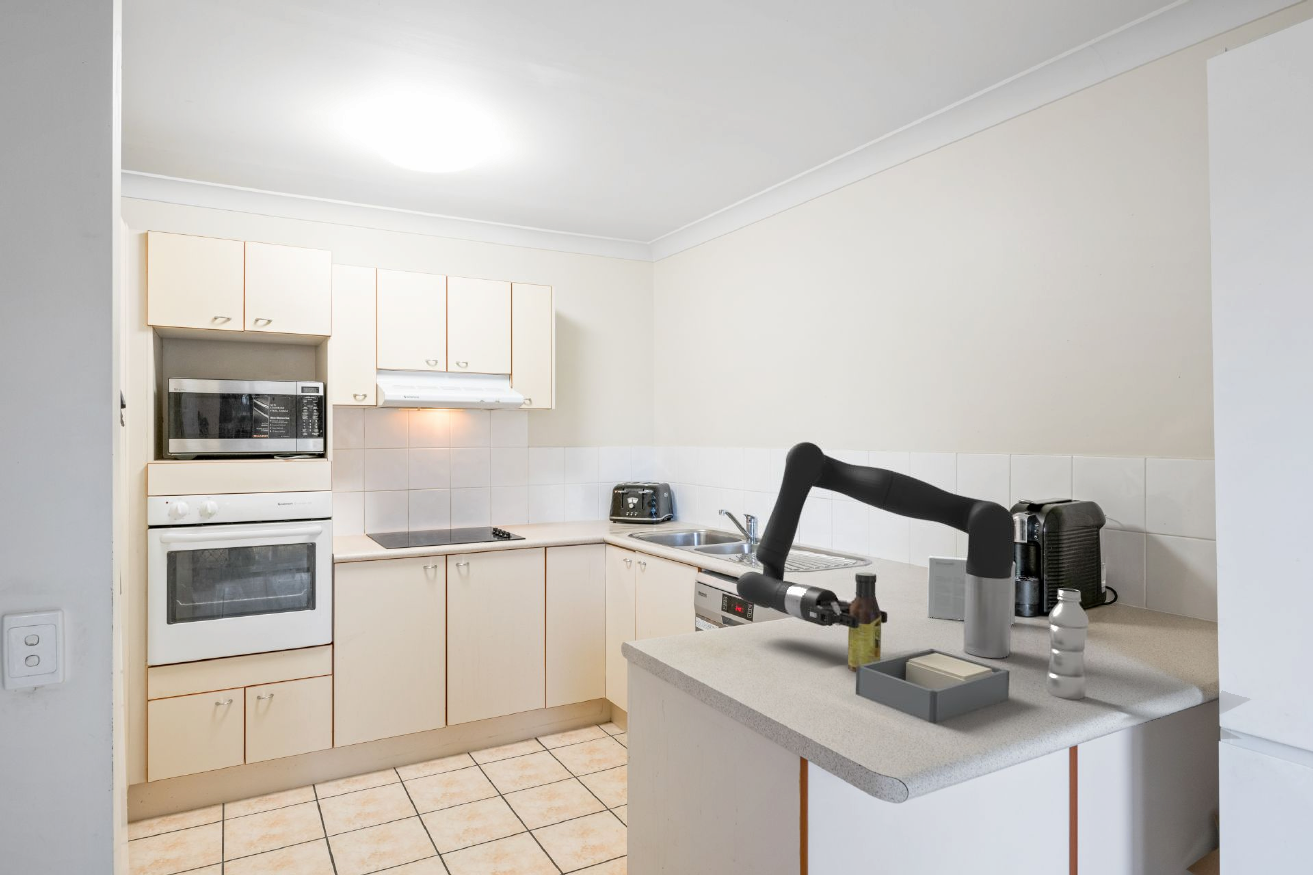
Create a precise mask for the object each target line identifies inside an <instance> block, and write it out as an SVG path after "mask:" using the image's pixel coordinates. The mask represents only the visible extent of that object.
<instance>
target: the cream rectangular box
mask: <svg viewBox="0 0 1313 875" xmlns="http://www.w3.org/2000/svg"><path fill="white" fill-rule="evenodd" d="M992 673H994V672H992V669H990V668H986V667H983V666H979V665H976V664H973V663H969V662H966V661H962V660H959V659H955V658H952V657H949V656H945V655H942V654H938V653H934V654H930V655H926V656H921V657H917V658H913V659H909V662H906V681H907V682H910V683H913V684H916V685H919V686H922V687H925V688H928V689H931V690H935V689H939V688H943V687H946V686H950V685H953V684H957V683H960V682H964V681H967V680H971V679H974V678H978V677H981V676H985V675H988V674H992Z"/></svg>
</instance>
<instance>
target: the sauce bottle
mask: <svg viewBox="0 0 1313 875" xmlns="http://www.w3.org/2000/svg"><path fill="white" fill-rule="evenodd" d="M854 579H855V580H854V581H855V584H856V585H855V586H856V588H855V597H854V599H853V600H851V602H852V603H851V605H850V615H852V616H856V617H858V618H859V627H858V628H855V629H854V628H851V627H848V633H847V635H848V640H847V641H848V642H847V643H848V644H847V665H848V668H847V669H848V670H849V671H851V672H853V673H856V666H859V665H863V664H867V663H872V662H876V661H880V660H881V654H882V653H881V648H882V623H881V612H880V606H879V604H878V599H877V597H876V583H877V574H875V573H872V572H855V578H854Z"/></svg>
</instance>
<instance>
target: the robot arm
mask: <svg viewBox="0 0 1313 875" xmlns="http://www.w3.org/2000/svg"><path fill="white" fill-rule="evenodd" d="M791 447H792V448H790V450H788V452H787V455H786V456H785V457H786V458H785V467H784V470H783V477H782V481H781V484H780V488H779V492H778V496H777V498H776V501H775V504H774V507H773V508H772V511H771V514H770V516H769V519H768V522H767V523H766V526H765V529H764V531H763V534H762V537H761V539H760V542H759V544H758V547H757V550H756V552H755V559H756V560H757V561H758V562H759V563H760V564H761V565H762V567H763V568H762V573H760V572H756V571H747V572H744V573H743V574H742V575H740V576H739V578H738V580H737V582H736V593H737V594H738V596H739V597H740V598H741V599H742V600H743V601H745V602H746V603H749V604H752V605H755V606H758V607H760V608H763V609H773V610H775V611H777V612H779V613H782V614H785V615H789V616H792V617H794V618H796V619H799V620H800V621H801V620H802V621H805V622H808V623H812V624H816V625H818V626H822V627H827V626H828V627H832V626H833V625H835V626H838V627H839V626H845V627H847V628H849V627H851V628H854V629H855V628H858V627H859V618H858V617H856V616H852V615H850V605H851V603H852V601H850V602H849V601H847V600H844V599H843V600H841V599H840V600H839V598H838V596H837V594H836V593H835V592H834V591H832V590H830V589H825V588H822V587H818V586H814V585H809V584H806V583H805V584H803V583H797V582H793V581H788V580H784V579H785V578H784V577H785V567H786V561H787V559H788V558H789V554H790V551H791V548H792V545H793V543H794V539H795V536H796V533H797V530H798V527H799V522H800V518H801V515H802V512H803V508H804V505H805V503H806V500H807V498H808V495H809V494H810V491H811V490H812V488H813V487H815V488H819V489H824V490H828V491H832V492H836V493H839V494H842V495H845V496H847V497H849V498H851V499H853V500H856V501H859V502H861V503H863V504H866V505H869V506H871V507H874V508H877V509H880V510H882V511H886V512H889V513H892V514H895V515H899V516H902V517H905V518H906V517H907V518H911V519H916V520H922V521H927V522H934V523H939V524H942V525H945V526H948V527H951V528H954V529H956V530H958V531H961V532H963V533H965V534H967V535H968V538H967V539H968V541H967V542H968V543H967V544H968V545H967V557H966V558H967V561H966V584H965V586H966V587H965V618H964V621H963V622H964V624H963V626H964V627H963V651H964V652H965V653H968V654H970V655H972V656H976V657H983V658H992V659H1002V658H1003V657H1004V658H1007V657H1009V654H1010V653H1011V638H1012V637H1011V634H1012V625H1011V610H1010V598H1011V571H1012V566H1013V561H1014V557H1015V556H1014V555H1015V539H1016V538H1015V537H1016V523H1015V519H1014V517H1013V516H1014V515H1013V514H1012V513H1011V512H1010V511H1009V510H1008V509H1007V508H1006V507H1005V506H1003V505H1001V504H1000V503H997V502H996V501H990V500H989V501H988V500H982V499H977V498H973V497H969V496H963V495H959V494H956V493H952V492H950V491H946V490H944V489H942V488H939V487H937V486H936V485H933V484H931V483H929V482H926V481H923V480H921V479H917V478H915V477H913V476H909V475H907V474H904V473H900V472H897V471H894V470H890V469H886V468H880V467H874V466H866V465H858V464H857V465H856V464H852V463H847V462H845V461H841V460H838V459H836V458H833V457H831V456H829V455H826V454H824V452H823V451H822V449H821V448H820V447H819V446H818V445H817V444H816V443H812V442H810V441H809V442H808V441H803V442H799V443H796V444H795V445H794V446H791ZM880 612H881V624H887V622H888V613H887V611H885V610H880ZM1009 652H1010V653H1009ZM1006 656H1007V657H1006ZM1004 658H1003V659H1004Z"/></svg>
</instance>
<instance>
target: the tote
mask: <svg viewBox="0 0 1313 875" xmlns="http://www.w3.org/2000/svg"><path fill="white" fill-rule="evenodd" d="M934 653H938V654H942V655H945V656H949V657H952V658H955V659H959V660H962V661H966V662H969V663H973V664H976V665H979V666H983V667H986V668H990V669H992V672H994V673H992V674H988V675H985V676H981V677H978V678H974V679H971V680H967V681H964V682H960V683H957V684H953V685H950V686H946V687H943V688H939V689H935V690H931V689H928V688H925V687H922V686H919V685H916V684H913V683H910V682H907V681H906V662H909V659H913V658H917V657H921V656H926V655H930V654H934ZM1009 690H1010V670H1007V669H1004V668H1000V667H996V666H993V665H990V664H987V663H982V662H979V661H976V660H973V659H969V658H965V657H962V656H958V655H956V654H955V655H954V654H951V653H948V652H945V651H940V650H937V649H934V648H928V649H924V650H920V651H916V652H911V653H907V654H903V655H899V656H894V657H889V658H885V659H880V661H876V662H872V663H867V664H863V665H859V666H856V672H855V695H857V696H860V697H862V698H865V699H867V700H870V701H873V702H875V703H878V704H881V705H883V706H886V707H889V708H891V709H893V710H896V711H898V712H902V713H904V714H907V715H909V716H911V717H914V718H917V719H920V720H922V721H925V722H928V723H931V724H933V725H934V724H936V723H940V722H943V721H946V720H949V719H951V718H955V717H958V716H961V715H964V714H967V713H970V712H973V711H977V710H979V709H982V708H986V707H989V706H992V705H995V704H998V703H1001V702H1003V701H1007V700H1009V696H1010V695H1009V694H1010V691H1009Z"/></svg>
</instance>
